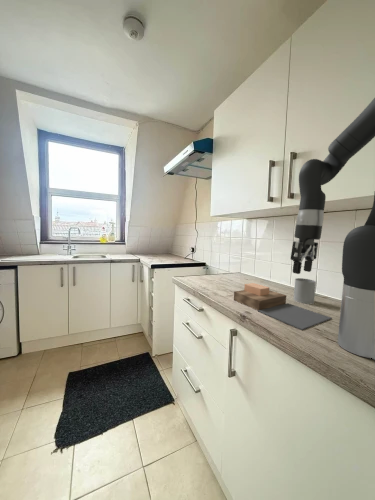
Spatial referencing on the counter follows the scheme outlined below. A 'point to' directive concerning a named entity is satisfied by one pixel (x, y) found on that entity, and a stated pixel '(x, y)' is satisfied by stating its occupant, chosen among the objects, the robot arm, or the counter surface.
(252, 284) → the orange rectangular block
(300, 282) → the cup
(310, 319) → the mat
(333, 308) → the counter surface
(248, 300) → the block
